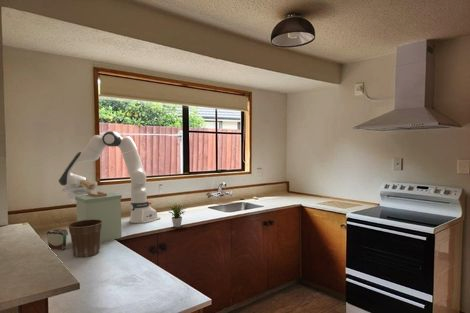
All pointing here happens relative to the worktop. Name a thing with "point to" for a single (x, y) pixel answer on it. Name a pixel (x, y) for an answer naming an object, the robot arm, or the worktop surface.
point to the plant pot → (85, 237)
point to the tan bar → (87, 184)
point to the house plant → (177, 215)
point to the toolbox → (102, 212)
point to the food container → (57, 239)
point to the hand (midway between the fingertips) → (84, 182)
